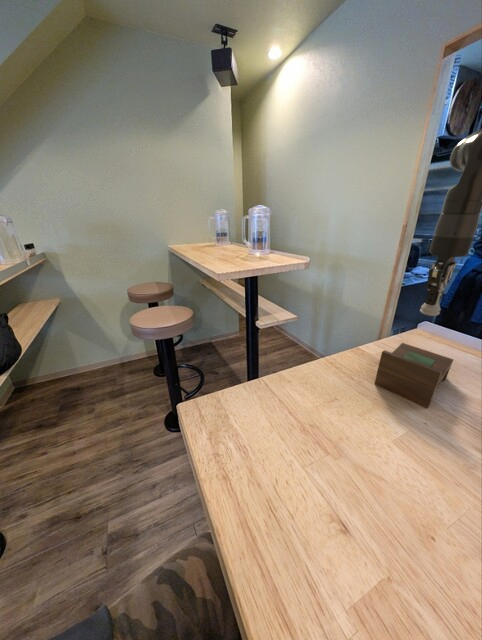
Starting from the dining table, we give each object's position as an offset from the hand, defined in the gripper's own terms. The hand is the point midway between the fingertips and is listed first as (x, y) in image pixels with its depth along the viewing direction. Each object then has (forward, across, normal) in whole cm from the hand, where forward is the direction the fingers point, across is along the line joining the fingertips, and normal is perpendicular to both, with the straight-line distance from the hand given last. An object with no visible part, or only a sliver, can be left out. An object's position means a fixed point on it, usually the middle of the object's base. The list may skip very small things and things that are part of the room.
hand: (432, 302), depth 66 cm
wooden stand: (+19, -10, -2) cm, 22 cm away
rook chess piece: (+3, 0, 0) cm, 3 cm away
